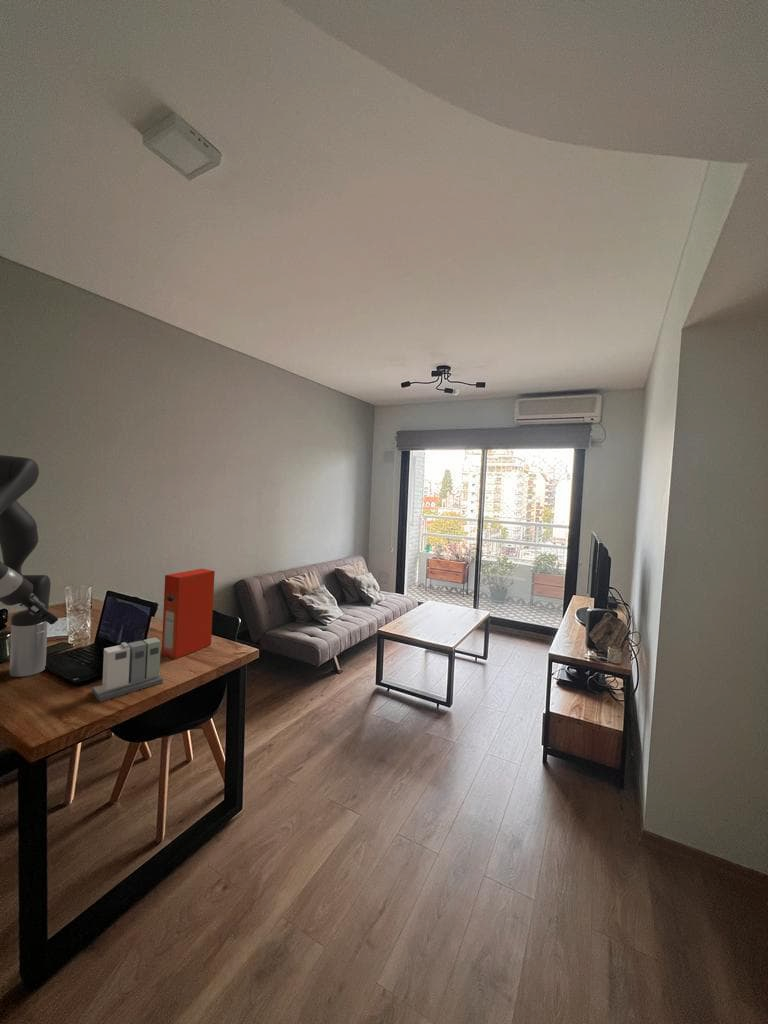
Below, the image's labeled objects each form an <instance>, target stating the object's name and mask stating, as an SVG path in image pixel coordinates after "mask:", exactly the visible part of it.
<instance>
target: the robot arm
mask: <svg viewBox="0 0 768 1024" xmlns="http://www.w3.org/2000/svg"><path fill="white" fill-rule="evenodd" d="M39 475H40V469H39V465H38V463H37V462H36V461H35V460H34V459H32V458H29V457H22V456H14V455H13V456H11V455H4V454H3V455H2V454H0V550H1V556H2V561H3V562H2V561H1V560H0V603H2V604H3V605H5V606H16V605H19V606H20V607H21V608H22V609H24V610H21V611H18V612H17V613H14V614H13V615H12V616H11V619H10V620H11V622H10V624H11V625H10V633H11V634H10V652H9V653H10V654H9V655H10V656H9V676H11V677H15V678H16V677H17V678H19V677H21V678H22V677H30V676H32V675H33V676H34V675H36V674H40V673H41V672H43V671H45V669H46V668H45V666H47V663H46V662H47V643H48V642H47V639H48V625H49V624H50V625H53V624H55V623H56V622H58V620H59V618H58V617H57V616H56V615H54V614H53V613H52V612H51V611H50V610H49V605H50V595H51V583H52V582H51V579H50V577H49V576H48V575H46V574H42V575H41V574H26V575H25V574H23V573H22V566H23V564H24V563H25V561H26V560H27V559H28V557H29V556H30V555H31V553H32V552H33V551H34V550H35V548H36V547H37V545H38V543H39V534H38V525H37V522H36V520H35V519H34V517H33V516H32V515H31V514H30V513H29V511H27V510H26V509H25V508H24V507H23V505H21V503H19V502H18V499H19V498H21V497H22V496H23V495H24V494H26V493H27V492H28V491H29V490H30V489H31V488H32V487H33V486H34V485H35V484H36V482H37V481H38V479H39Z"/></svg>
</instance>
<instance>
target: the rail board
mask: <svg viewBox="0 0 768 1024" xmlns="http://www.w3.org/2000/svg"><path fill="white" fill-rule="evenodd" d="M127 644H128V645H129V648H130V661H129V682H128V685H124V686H121V687H117V688H113V689H110V690H106V689H105V688H104V687H103V685H102V684H100V685H96V686H92V688H91V693H92V694H93V695H94V697H95V698H96V699H97V700H98V702H100V703H102V702H106V701H108V700H112V699H115V698H119V697H121V695H122V696H124V694H125V695H128V694H130V692H132V693H134V692H133V691H135V692H137V691H136V690H138V691H140V690H139V689H141V690H144V689H143V688H145V689H147V688H146V687H148V688H150V686H151V687H154V686H153V685H155V686H157V685H156V684H158V685H161V684H163V681H164V678H162V676H161V674H160V667H161V652H162V640H160V639H159V638H157V637H152V638H147V639H143V640H137V641H133V642H128V643H127ZM160 683H161V684H160ZM127 693H128V694H127ZM114 697H115V698H114ZM111 698H112V699H111Z"/></svg>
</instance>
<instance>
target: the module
mask: <svg viewBox="0 0 768 1024" xmlns="http://www.w3.org/2000/svg"><path fill="white" fill-rule="evenodd" d="M129 661H130V648H129V645H128V643H127V642H126V641H124V642H121V643H120V644H119V645H114V646H109V647H105V648H103V662H102V667H103V668H102V682H101V683H102V684H101V685H103V687H104V688H105V689H106V690H110V689H113V688H117V687H121V686H124V685H128V682H129Z"/></svg>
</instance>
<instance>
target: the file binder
mask: <svg viewBox="0 0 768 1024" xmlns="http://www.w3.org/2000/svg"><path fill="white" fill-rule="evenodd" d="M214 590H215V570H211V569H205V568H197V569H191V570H187V571H181V572H175V573H170V574H165V575H164V593H163V595H164V596H163V614H162V615H163V617H162V638H161V639H162V640H161V656H164V657H167V658H170V659H174V660H176V659H179V658H181V657H183V656H186V655H189V654H191V653H193V652H197V651H198V650H201V649H203V648H206V647H208V646H210V645H212V636H213V635H212V632H213V631H212V630H213V611H214Z"/></svg>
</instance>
